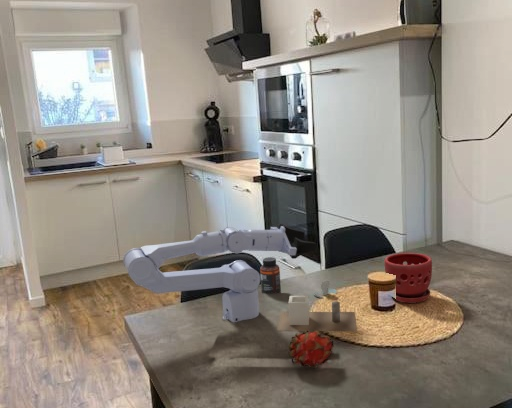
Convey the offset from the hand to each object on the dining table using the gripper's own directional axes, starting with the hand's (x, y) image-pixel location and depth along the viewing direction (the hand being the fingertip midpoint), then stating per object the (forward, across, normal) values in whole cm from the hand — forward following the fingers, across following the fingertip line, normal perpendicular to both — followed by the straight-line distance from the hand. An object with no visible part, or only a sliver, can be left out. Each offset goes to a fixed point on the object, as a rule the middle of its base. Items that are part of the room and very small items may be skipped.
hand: (309, 241), depth 148 cm
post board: (-2, -17, +17) cm, 24 cm away
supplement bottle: (-4, +10, +23) cm, 25 cm away
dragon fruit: (-12, -33, +15) cm, 38 cm away
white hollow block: (-6, -14, +16) cm, 23 cm away
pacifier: (+9, 0, +19) cm, 21 cm away
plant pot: (+30, -10, +13) cm, 35 cm away
